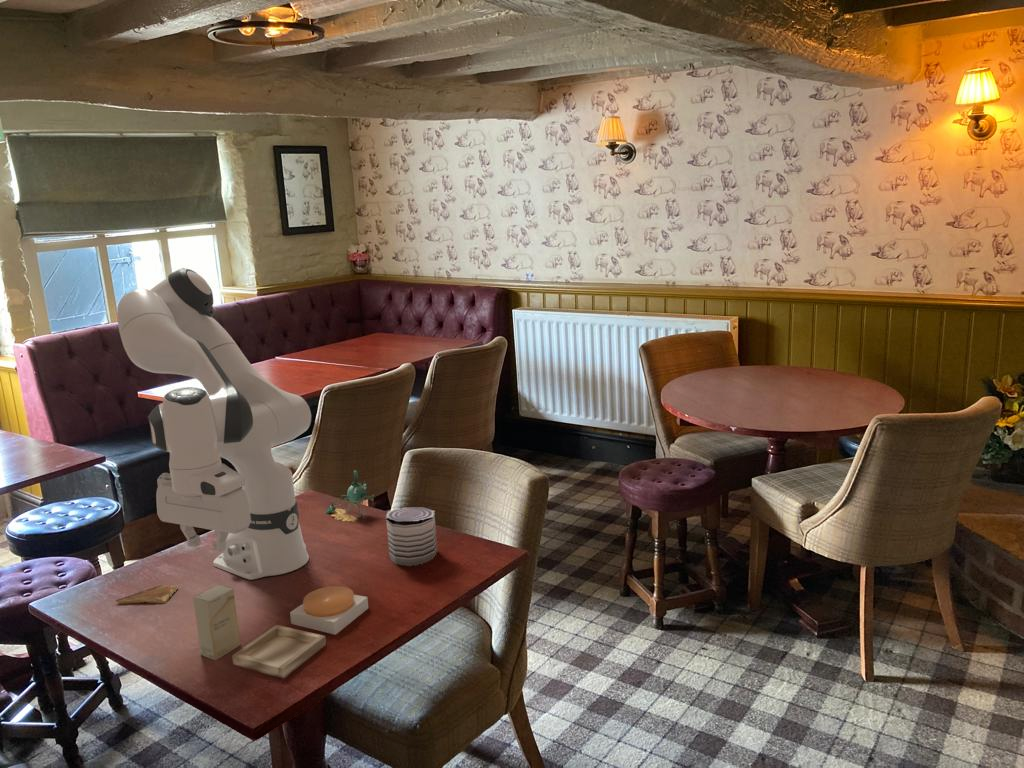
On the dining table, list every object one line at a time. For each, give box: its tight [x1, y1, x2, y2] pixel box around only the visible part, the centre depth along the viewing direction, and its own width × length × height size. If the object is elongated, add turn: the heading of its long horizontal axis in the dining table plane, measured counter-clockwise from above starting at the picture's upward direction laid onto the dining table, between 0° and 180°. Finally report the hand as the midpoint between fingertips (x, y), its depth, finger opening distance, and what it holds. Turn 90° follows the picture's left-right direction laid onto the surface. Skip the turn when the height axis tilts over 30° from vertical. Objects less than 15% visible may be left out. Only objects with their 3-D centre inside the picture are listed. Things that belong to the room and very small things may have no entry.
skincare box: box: [192, 584, 241, 661], centre depth 156 cm, size 6×4×12 cm
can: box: [384, 506, 438, 567], centre depth 192 cm, size 11×11×12 cm
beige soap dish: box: [231, 624, 327, 680], centre depth 154 cm, size 12×12×2 cm
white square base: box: [289, 594, 369, 636], centre depth 167 cm, size 11×11×3 cm
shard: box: [115, 584, 179, 605], centre depth 179 cm, size 11×8×2 cm
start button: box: [302, 585, 355, 617], centre depth 167 cm, size 10×10×2 cm
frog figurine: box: [324, 470, 375, 522], centre depth 218 cm, size 10×18×15 cm, turn 60°
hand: (207, 548), depth 152 cm, fingers open, 5 cm apart
